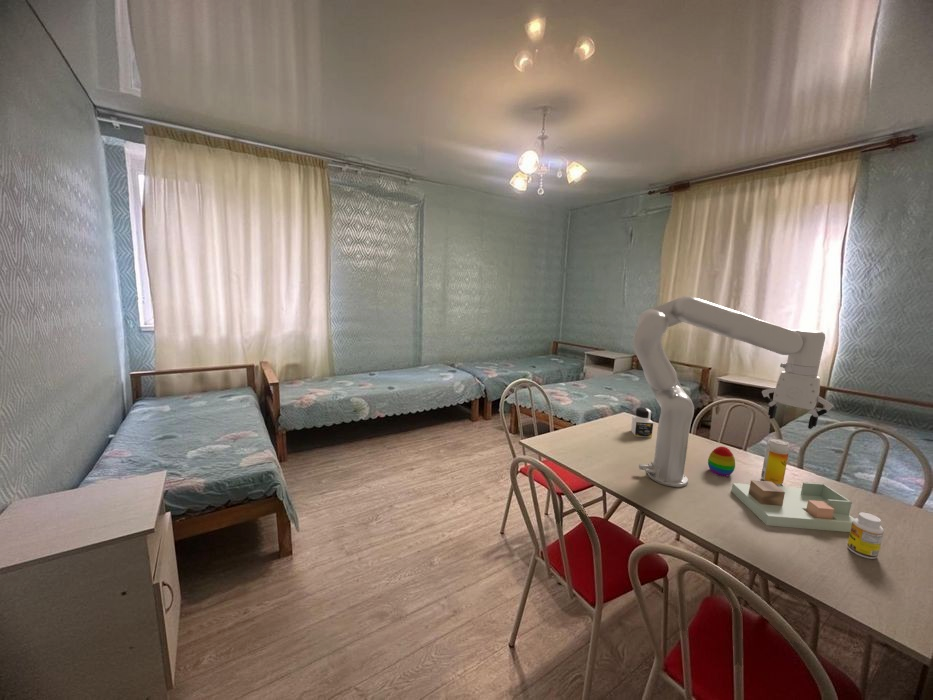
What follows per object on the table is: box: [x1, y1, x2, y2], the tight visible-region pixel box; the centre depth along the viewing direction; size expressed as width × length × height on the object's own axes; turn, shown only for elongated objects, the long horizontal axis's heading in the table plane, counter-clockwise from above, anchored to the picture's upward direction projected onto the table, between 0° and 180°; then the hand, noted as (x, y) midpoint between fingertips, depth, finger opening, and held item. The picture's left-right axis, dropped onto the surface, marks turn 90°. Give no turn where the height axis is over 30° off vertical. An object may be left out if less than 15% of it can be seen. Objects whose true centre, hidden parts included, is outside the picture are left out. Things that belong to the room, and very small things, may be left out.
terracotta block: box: [806, 500, 834, 519], centre depth 111 cm, size 4×4×6 cm
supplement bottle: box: [847, 512, 885, 560], centre depth 98 cm, size 6×6×10 cm
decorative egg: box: [707, 446, 736, 477], centre depth 139 cm, size 8×8×10 cm
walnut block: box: [749, 479, 785, 506], centre depth 117 cm, size 6×6×4 cm
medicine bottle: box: [630, 407, 654, 439], centre depth 173 cm, size 7×7×12 cm
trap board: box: [731, 481, 855, 533], centre depth 116 cm, size 24×18×7 cm
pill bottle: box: [760, 437, 791, 486], centre depth 133 cm, size 6×6×15 cm
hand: (790, 422), depth 121 cm, fingers open, 9 cm apart
